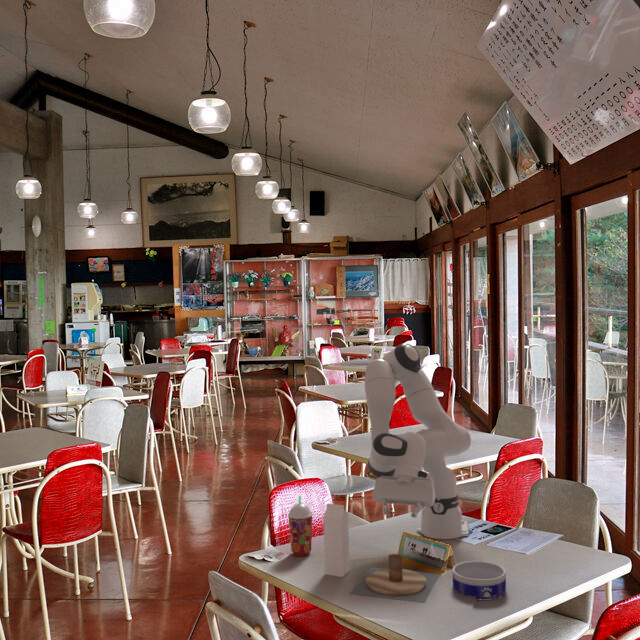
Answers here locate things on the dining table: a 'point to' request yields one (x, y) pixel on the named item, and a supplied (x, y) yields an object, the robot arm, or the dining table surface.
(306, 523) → the smoothie
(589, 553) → the dining table surface
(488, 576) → the dog bowl
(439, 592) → the dining table surface
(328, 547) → the milk
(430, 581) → the mat
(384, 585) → the lid
